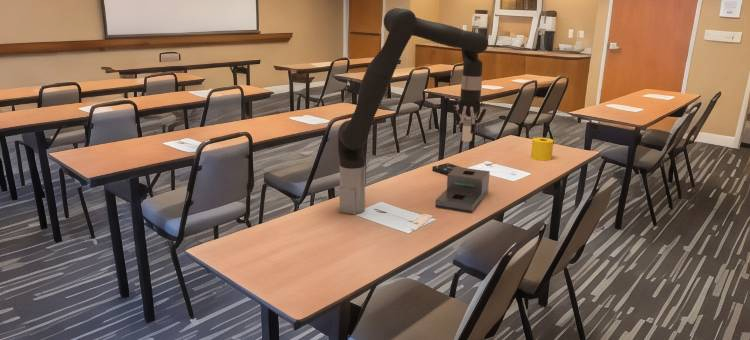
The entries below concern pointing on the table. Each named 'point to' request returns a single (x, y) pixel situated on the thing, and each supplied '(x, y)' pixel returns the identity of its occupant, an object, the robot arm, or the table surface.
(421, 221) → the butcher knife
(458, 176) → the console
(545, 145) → the tape roll
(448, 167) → the disk drive
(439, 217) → the table surface
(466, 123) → the plug
